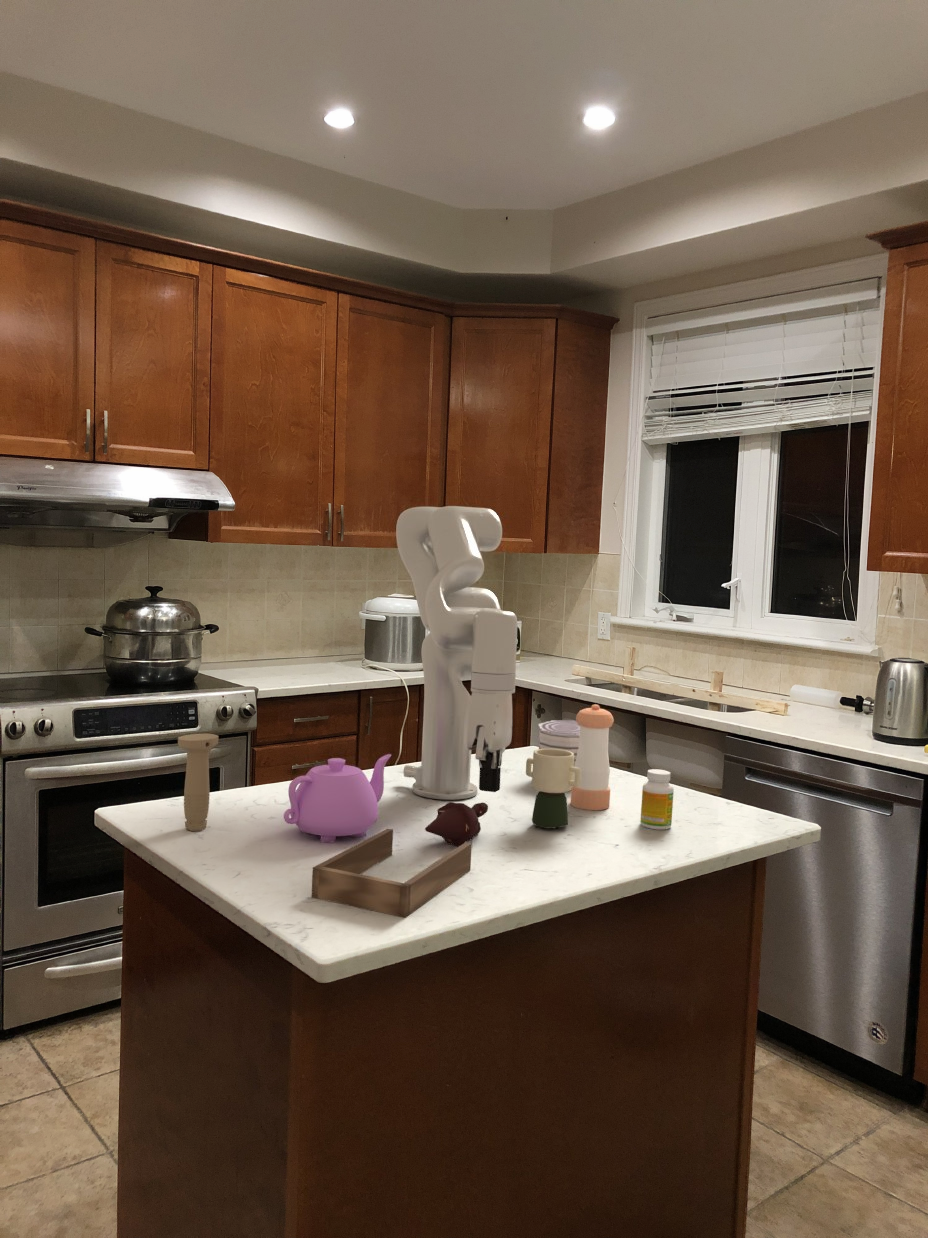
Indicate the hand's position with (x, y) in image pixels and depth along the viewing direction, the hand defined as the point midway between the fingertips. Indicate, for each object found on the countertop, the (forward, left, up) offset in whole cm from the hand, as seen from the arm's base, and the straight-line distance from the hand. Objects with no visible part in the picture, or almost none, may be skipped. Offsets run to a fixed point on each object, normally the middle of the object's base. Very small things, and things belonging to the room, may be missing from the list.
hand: (489, 790), depth 163 cm
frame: (-1, -33, -6) cm, 33 cm away
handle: (-40, -27, -7) cm, 49 cm away
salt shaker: (+11, +24, -7) cm, 27 cm away
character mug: (+9, +6, -7) cm, 13 cm away
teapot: (-20, -16, -7) cm, 26 cm away
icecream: (-1, -12, -7) cm, 13 cm away
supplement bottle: (+25, +17, -7) cm, 31 cm away
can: (+1, +39, -7) cm, 39 cm away
